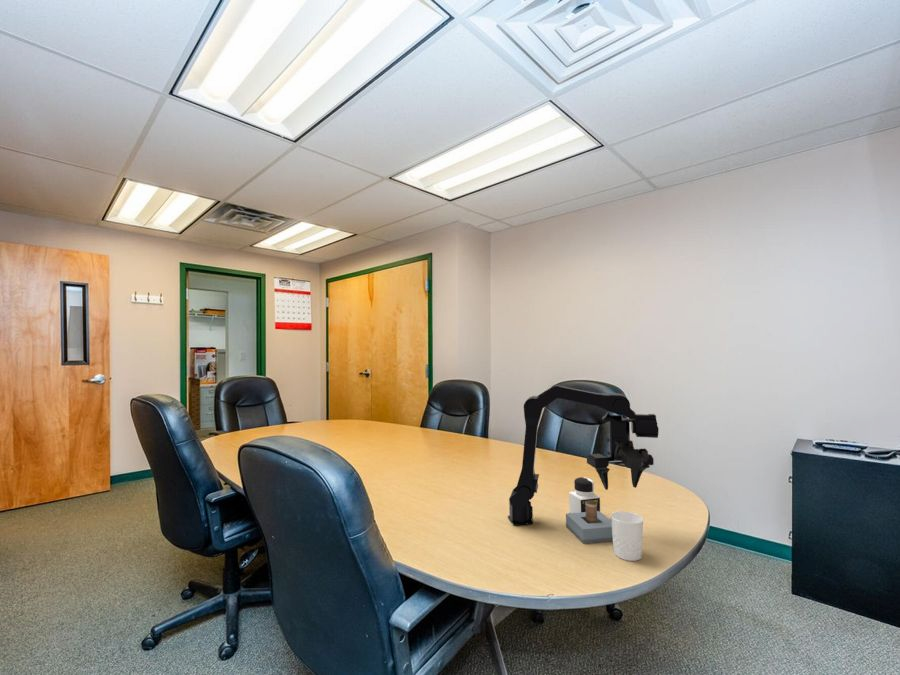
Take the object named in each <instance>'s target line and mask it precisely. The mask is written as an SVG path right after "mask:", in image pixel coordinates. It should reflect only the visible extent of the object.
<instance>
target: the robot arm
mask: <svg viewBox="0 0 900 675" xmlns="http://www.w3.org/2000/svg"><path fill="white" fill-rule="evenodd" d="M557 399H559V400H560V399H561V400H565V401H571V402H575V403H581V404H586V405H591V406H596V407H597V408H601V409H602V410H604V411H606V414H605V415H603V416H602V421H603V422H608V436H609V437H607V438H606V442H608V443H609V450H608V451H606V452H607V456H605V455H603V454H601V453H589V454H587V456H586V464H588V465H589V466H591V467H592V468H594V469H595V471H596V473H597V474H598V477H599V478H600V481H601V484H602V486H603V488H604V490H605V491H608V490H609V476H608V475H609V471H610V468H609V465H610V464H620V463H623V465H624V467H626V468H628V469H630V478H631V484H632V487H633V488H635V489H637V486H638V484H639V482H640V479H641V476H642V474H643V472H644V471H645V470H646V469H648V468H650V467H651V466H654V465H655V464H654V463H655V462H654V459H655V458H654V456H653V455H652V454H650V453H649V450H648V449H646V448H634V443H633V442H634V441H633V440H631V435H630V434H631V433H632V434H635V437H637V438H648V439H649V438H651V439H652V438H655V439H658V437H659V426H658V421H657V415H656V414H655V413H648V414H644V413H643V414H642V413H641V414H640V413H639V414H638V413H637V414H636V412H635V411H634V410H633V409H632V408H631V402H630V400H629V399H628V397H627V396H625V395H624V394H622V393H620V392H619V393H618V392H593V391H588V390H583V389H577V388H573V387H567V386H564V385H563V386H562V385H559V384H553V385H552V386H551V387H549V388H548V389H546V390H545V391H543V392H541V393H540V394H539V395H537V396H536V395H532V396H530V397H528V398H527V399H526V401H525V402H524V404H523V416H524V423H525V433H524V442H523V443H524V444H523V451H522V452H523V454H522V464H521V465H522V466H521V471H520V474H519V476H518V480H517V483H516V485H515V487H514V488H513V489H512V492H511V494H510V496H509V498H508V499H509V515H507V518H508V520H509V521H510V522H511V524H512V525H513V526H522V525H533V524H534V521H533V519H534V518H533V516H534V514H533V513H534V512H533V510H534V509H533V506H532V502H531V500H532V499H533V498H534V496H535V494H537V493H538V489H539V483H538V480H539V478H540V474H539V473H536V471H535V463H536V461H535V460H536V452H537V450H536V449H537V442H538V441H537V440H538V429H539V423H540V420H541V417H542V413H543V409H544V408H546V407H547V406H549V405H550V404H551V403H553V402H554V401H556V400H557ZM609 412H611V413H612V414H611V413H609ZM622 415H623V416H625V418H624V417H622ZM630 430H631V431H630Z"/></svg>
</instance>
